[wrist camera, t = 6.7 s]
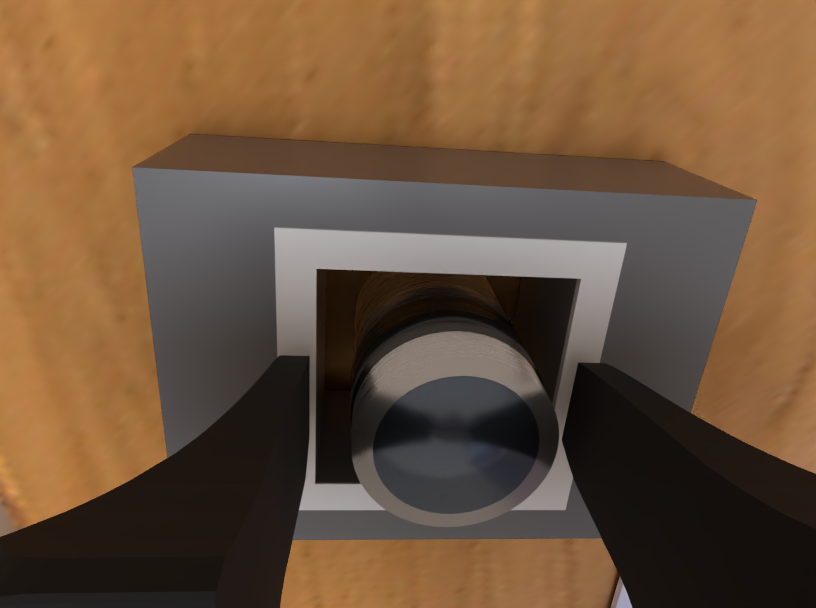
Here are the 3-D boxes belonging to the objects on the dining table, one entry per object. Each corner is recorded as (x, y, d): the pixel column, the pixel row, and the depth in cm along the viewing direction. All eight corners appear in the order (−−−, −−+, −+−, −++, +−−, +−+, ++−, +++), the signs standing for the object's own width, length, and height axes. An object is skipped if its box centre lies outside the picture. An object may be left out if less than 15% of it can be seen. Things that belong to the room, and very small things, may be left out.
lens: (479, 384, 18) (530, 538, 12) (344, 368, 17) (335, 522, 12) (512, 257, 16) (589, 369, 11) (365, 235, 16) (366, 341, 10)
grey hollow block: (595, 442, 19) (651, 539, 15) (214, 438, 18) (177, 541, 14) (663, 161, 15) (758, 200, 12) (190, 134, 14) (131, 168, 11)
